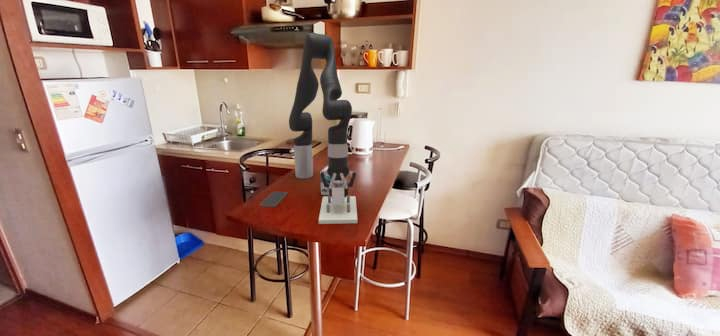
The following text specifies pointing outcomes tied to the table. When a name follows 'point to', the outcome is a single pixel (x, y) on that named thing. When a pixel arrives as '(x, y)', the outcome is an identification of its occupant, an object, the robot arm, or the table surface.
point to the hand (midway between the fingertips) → (338, 196)
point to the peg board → (338, 211)
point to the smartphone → (274, 199)
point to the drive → (338, 193)
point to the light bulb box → (323, 189)
